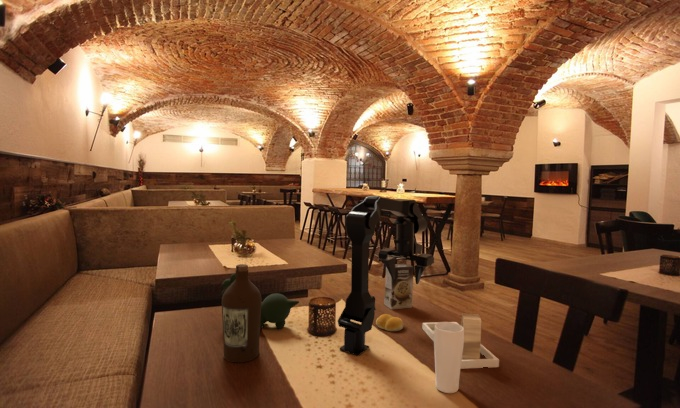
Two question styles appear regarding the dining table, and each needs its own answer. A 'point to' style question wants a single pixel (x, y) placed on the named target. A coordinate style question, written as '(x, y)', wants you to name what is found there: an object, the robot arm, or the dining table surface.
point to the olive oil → (241, 318)
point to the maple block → (471, 336)
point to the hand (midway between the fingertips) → (405, 281)
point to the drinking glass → (448, 355)
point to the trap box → (470, 363)
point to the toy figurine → (270, 306)
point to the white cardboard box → (399, 287)
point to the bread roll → (389, 323)
